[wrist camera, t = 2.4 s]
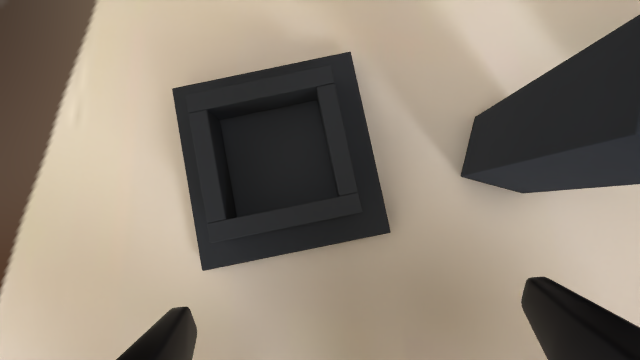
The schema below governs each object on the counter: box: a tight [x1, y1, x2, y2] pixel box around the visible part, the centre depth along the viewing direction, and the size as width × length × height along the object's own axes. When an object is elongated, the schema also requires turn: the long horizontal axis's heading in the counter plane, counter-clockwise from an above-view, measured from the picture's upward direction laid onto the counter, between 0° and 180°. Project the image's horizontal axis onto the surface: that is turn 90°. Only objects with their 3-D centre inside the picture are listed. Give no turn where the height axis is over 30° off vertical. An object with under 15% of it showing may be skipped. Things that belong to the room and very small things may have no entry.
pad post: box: [461, 15, 640, 193], centre depth 16 cm, size 4×4×13 cm
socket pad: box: [172, 52, 390, 271], centre depth 21 cm, size 13×13×4 cm
